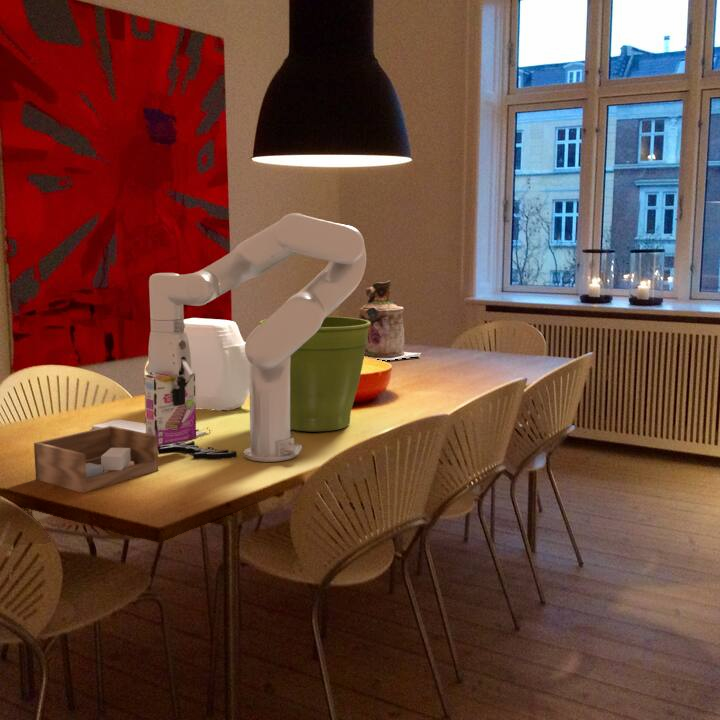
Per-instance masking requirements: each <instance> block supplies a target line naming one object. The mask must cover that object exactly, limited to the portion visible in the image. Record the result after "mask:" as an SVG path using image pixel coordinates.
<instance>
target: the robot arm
mask: <svg viewBox="0 0 720 720" xmlns="http://www.w3.org/2000/svg"><path fill="white" fill-rule="evenodd" d="M295 255H302V256H306V257H310V258H314V259H320V260H324V261H328V263H327V265H326V266H325V267H324V268H323V269H322V270H321V271H320V272H319V273H318V274H317V275H315V277H314V278H313V279H312V280H311V281H310V282H308V284H307V285H305V286H304V287H303V288H302V289H300V290H299V291H298V292H297V293H294V294H293V295H292V296H290V297H289V298H288V299H287V300H286V302H284V303H283V304H282V305H281V306H280V307H279V308H278V309H276V311H274V312H273V313H272V314H271V315H270V316H268V317H267V318H266V319H267V320H266V321H265V322H263V323H262V324H261V325H260V324H259V325H257V326H256V327H255V328H254V329H253V330H252V331H251V332H250V333H249V335H248V336H247V338H246V341H245V342H246V343H245V354H246V357H247V359H248V361H249V362H250V391H249V431H250V432H249V435H250V436H249V439H250V441H249V442H250V446H249V447H247V448H246V449H244V451H243V456H244V458H245V459H247V460H250V461H254V462H262V463H263V462H265V463H270V462H271V463H274V462H282V461H288V460H292V459H294V458H295V457H297V456H298V455H299V454H300V452H301V451H302V449H303V446H302V444H298V443H295V437H294V436H292V435H291V433H292V431H291V430H292V429H291V427H290V362H291V355H292V354H293V353H294V352H295V351H296V350H298V349H299V348H300V347H301V346H302V345H303V344H304V343H305V342H307V341H308V340H309V339H310V338H311V337H312V336H313V335H314V334H315V333H316V332H317V331H318V330H319V328H320V327H321V325H322V323H323V321H324V319H325V318H326V317H327V316H328V317H329V316H330V314H332V313H333V312H334V311H335V310H336V309H337V308H338V307H339V306H340V305H341V304H342V303H343V302H344V301H345V300H346V299H347V298H348V297H349V296H351V295H352V293H353V292H354V291H355V290H356V289H357V288H358V286H359V284H360V282H361V281H362V279H363V277H364V274H365V270H366V266H367V250H366V245H365V239H364V237H363V235H362V233H361V232H360V231H359V229H357V228H356V227H354V226H352V225H346V224H342V223H337V222H333V221H328V220H324V219H319V218H316V217H312V216H308V215H304V214H302V213H298V212H291V213H288V214H285V215H284V216H282V217H281V219H279V220H277V222H274V223H273V224H271V225H269V226H267V227H266V228H264V229H263V230H260V231H259V232H257V233H256V234H254V235H252V236H250V237H249V238H247V239H245V240H243V241H242V242H240V243H239V244H238V245H237V246H235V248H234V249H233V250H232V251H230V252H229V253H228V254H226V255H224V256H222V257H221V258H220V259H218V260H216V261H214V262H213V263H211V264H209V265H207V266H206V267H204V268H203V269H200V270H198V271H195V272H193V273H186V274H179V273H175V272H158V273H153V274H152V275H150V276H149V280H148V288H149V289H148V290H149V310H150V311H149V312H150V314H149V315H150V316H149V317H150V332H149V337H148V338H149V340H148V341H149V342H148V355H147V356H148V363H147V365H146V367H145V371H146V373H147V375H149V374H163V375H168V376H172V379H173V383H174V386H175V389H173V405H174V406H178V405H183V404H185V387H187V384H188V382H189V380H190V379H191V378H192V377H193V372H192V371H191V356H190V348H189V342H188V337H187V334H186V333H184V328H185V324H184V320H185V319H184V318H185V316H184V305H186V306H195V307H197V306H198V307H200V306H201V307H202V306H205V305H206V304H207V303H210V302H211V301H214V300H215V299H216V298H218V297H220V296H221V295H222V296H223V294H225V293H227V292H228V291H230V290H233V289H234V288H236V287H237V286H239V285H241V284H243V283H244V282H246V281H249V280H251V279H254V278H257V277H259V276H261V275H262V274H264V273H267V272H268V271H270V270H272V269H273V268H274V267H276V266H278V265H280V264H281V263H283V262H286V261H287V260H289V259H290V258H292V257H294V256H295ZM184 374H185V375H184ZM179 377H180V381H178V378H179Z"/></svg>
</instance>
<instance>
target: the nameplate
mask: <svg viewBox="0 0 720 720" xmlns="http://www.w3.org/2000/svg"><path fill="white" fill-rule="evenodd" d="M176 452H178V453H179V452H180V453H185V454H187V453H188V454H191V453H193V454H192V455H193V460H199V459H202V458H203V459H205V460H223V458H224V459H225V458H226V459H232V457H233V458H236V457H237V451H236V450H231V451H229V449H220V450H217V449H215V448H214V447H212V446H207V448H206V447H205V448H203V447H200V446H199V445H196V444H195V441H194V440H191V441H188V442H185V443H183V442H178V443H173V444H167V445H162V446H158V454H168V453H176Z"/></svg>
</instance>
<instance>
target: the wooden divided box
mask: <svg viewBox="0 0 720 720" xmlns="http://www.w3.org/2000/svg"><path fill="white" fill-rule="evenodd" d="M110 448H130V457H131V461H133V462H134V465H132V466H129V467H125V468H123V469H122V470H114V471H111V472H107V473H104V474H100V475H97V476H93V477H89V478H86V464H87V463H93V464H97V465H100V464H101V456H102V455H103V454H104V453H106V452H107V451H108V450H109V449H110ZM33 451H34V454H33V455H34V469H35V480H36V481H40V482H44V483H47V484H50V485H54V486H58V487H61V488H64V489H67V490H71V491H75V492H78V493H81V494H85V493H88V492H91V491H94V490H98V489H101V488H105V487H108V486H112V485H115V484H119V483H122V482H125V481H128V480H127V479H129V480H131V479H130V478H132V479H135V478H134V477H136V478H138V477H137V476H139V477H141V476H140V475H142V476H145V475H144V474H146V475H149V474H152V473H151V472H153V473H155V471H156V472H158V471H159V451H158V442H157V436H156V435H151V434H147V433H142V432H137V431H133V430H128V429H123V428H119V427H114V426H107V427H103V428H98V429H91V430H86V431H85V430H84V431H81V432H76V433H72V434H68V435H65V436H64V435H63V436H59V437H54V438H50V439H47V440H41V441H38V442H34V443H33ZM148 473H149V474H148ZM118 482H119V483H118Z"/></svg>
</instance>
